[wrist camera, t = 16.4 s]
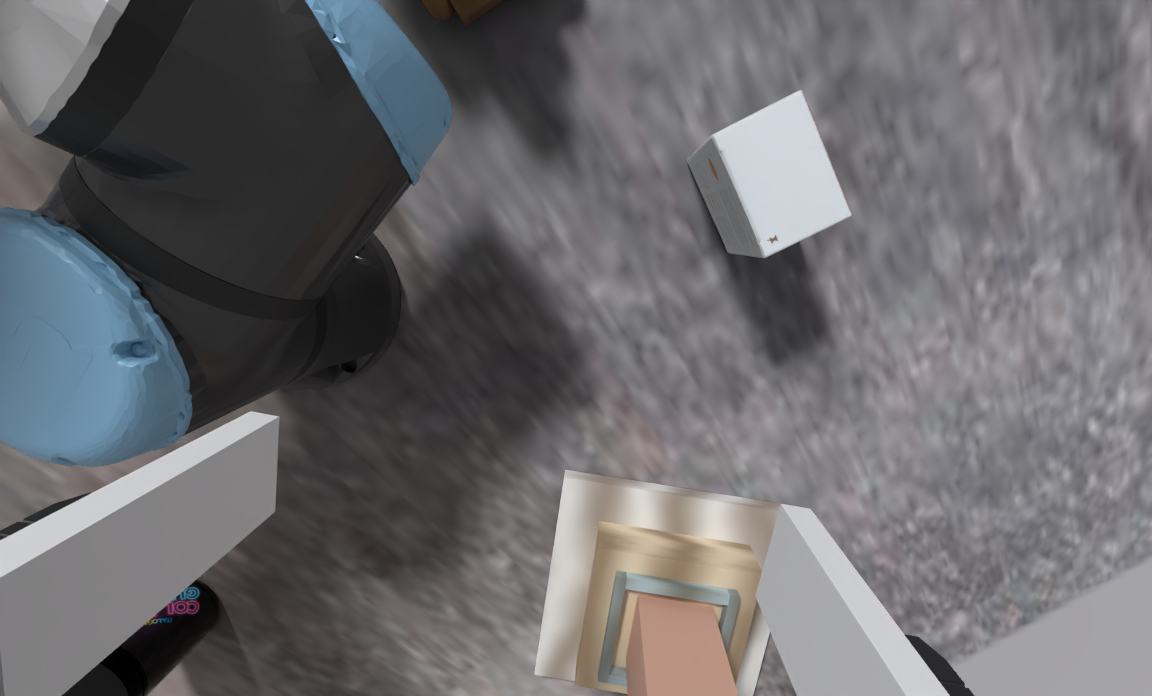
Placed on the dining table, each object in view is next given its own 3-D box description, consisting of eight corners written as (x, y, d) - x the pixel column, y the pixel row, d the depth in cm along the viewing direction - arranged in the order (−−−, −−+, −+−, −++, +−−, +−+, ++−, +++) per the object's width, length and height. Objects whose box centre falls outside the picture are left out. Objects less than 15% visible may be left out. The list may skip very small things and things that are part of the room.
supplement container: (234, 596, 51) (142, 686, 41) (207, 645, 52) (111, 745, 42) (171, 560, 51) (62, 643, 40) (145, 611, 52) (33, 703, 42)
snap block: (625, 657, 44) (632, 792, 33) (637, 594, 42) (648, 713, 32) (698, 669, 44) (727, 809, 33) (712, 606, 42) (748, 730, 32)
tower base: (536, 661, 51) (526, 723, 44) (565, 469, 46) (559, 507, 40) (745, 696, 50) (765, 763, 44) (794, 505, 46) (824, 549, 40)
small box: (793, 222, 41) (856, 218, 31) (726, 254, 42) (765, 262, 32) (753, 123, 40) (805, 85, 30) (684, 159, 41) (711, 134, 30)
